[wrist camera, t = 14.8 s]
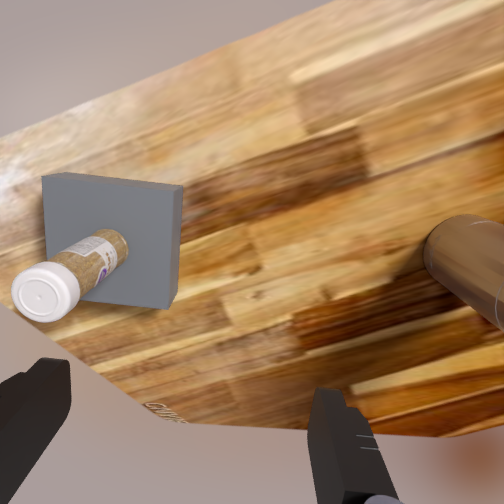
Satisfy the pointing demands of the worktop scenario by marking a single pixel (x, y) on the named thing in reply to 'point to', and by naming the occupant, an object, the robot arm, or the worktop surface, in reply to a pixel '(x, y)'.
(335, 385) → the worktop surface
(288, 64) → the worktop surface
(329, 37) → the worktop surface
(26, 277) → the spice jar
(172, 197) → the grey block
